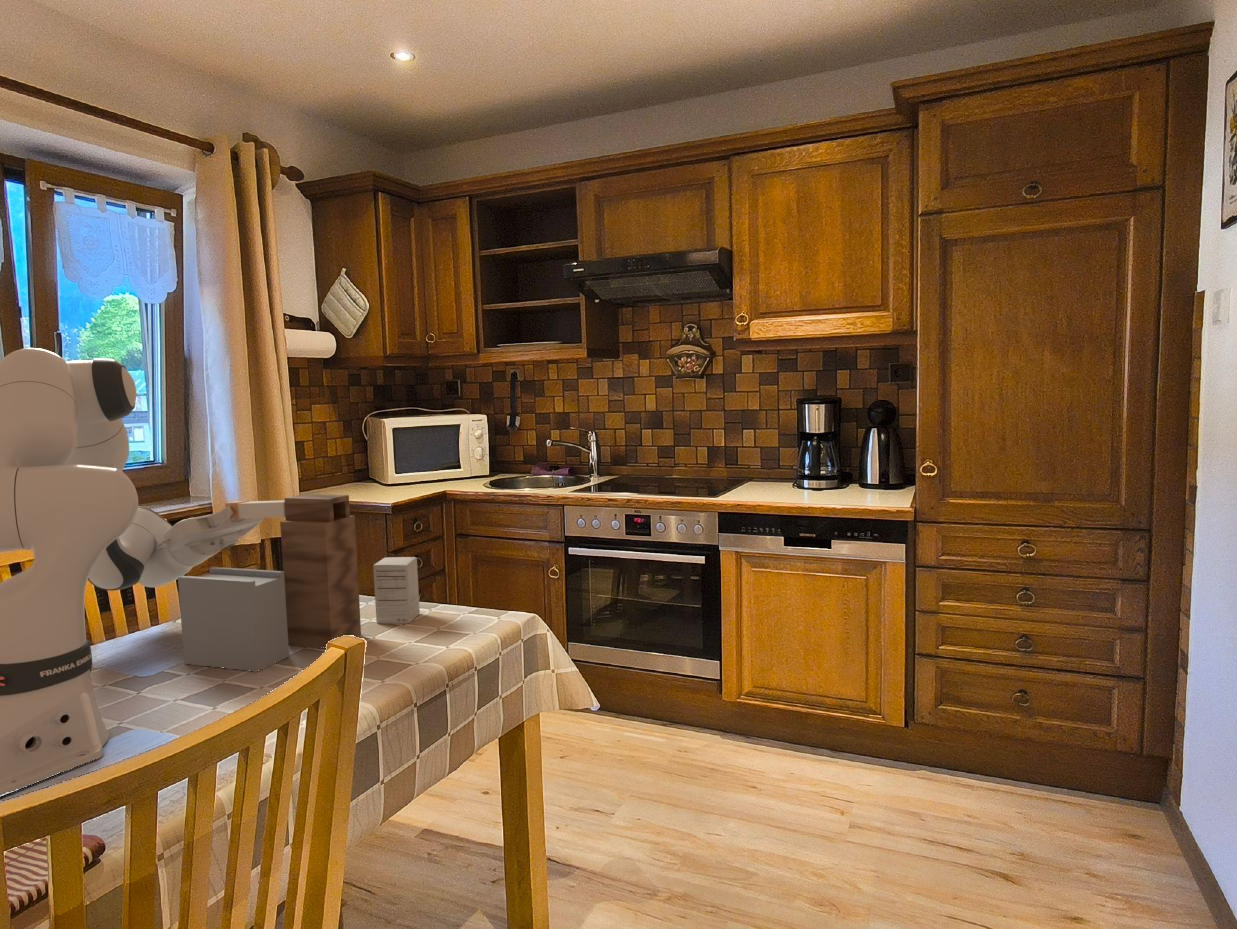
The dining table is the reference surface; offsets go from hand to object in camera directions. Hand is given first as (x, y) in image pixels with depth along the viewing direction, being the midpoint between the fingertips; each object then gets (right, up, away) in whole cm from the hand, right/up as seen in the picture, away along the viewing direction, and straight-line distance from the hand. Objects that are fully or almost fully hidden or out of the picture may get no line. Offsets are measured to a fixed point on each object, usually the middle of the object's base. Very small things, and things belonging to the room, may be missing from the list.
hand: (241, 508), depth 154 cm
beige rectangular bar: (+5, -2, -1) cm, 5 cm away
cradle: (+6, -27, -14) cm, 31 cm away
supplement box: (+28, -24, +10) cm, 39 cm away
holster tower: (+18, -26, -3) cm, 31 cm away
